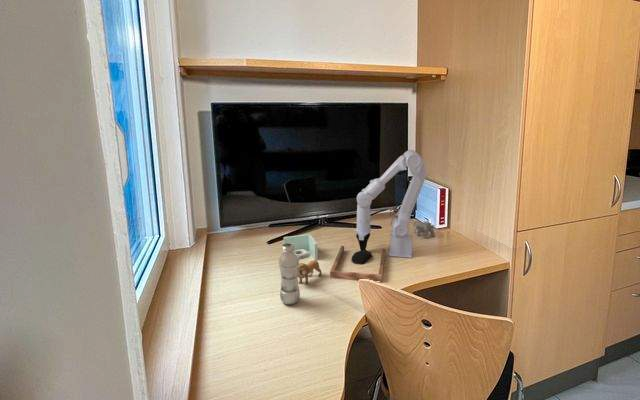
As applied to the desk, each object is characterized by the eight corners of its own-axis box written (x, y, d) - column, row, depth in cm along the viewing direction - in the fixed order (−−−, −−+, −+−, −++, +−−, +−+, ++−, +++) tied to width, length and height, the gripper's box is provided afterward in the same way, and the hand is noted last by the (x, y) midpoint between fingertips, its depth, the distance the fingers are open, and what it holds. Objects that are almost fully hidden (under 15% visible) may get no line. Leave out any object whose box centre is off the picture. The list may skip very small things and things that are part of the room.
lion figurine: (305, 291, 124) (304, 267, 121) (292, 287, 126) (291, 264, 124) (324, 273, 136) (324, 251, 134) (312, 270, 138) (312, 249, 136)
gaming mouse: (378, 253, 154) (378, 245, 153) (362, 266, 142) (362, 257, 141) (364, 250, 157) (365, 242, 156) (348, 263, 145) (348, 254, 144)
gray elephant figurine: (436, 235, 173) (437, 220, 171) (429, 242, 163) (430, 226, 161) (417, 232, 178) (418, 217, 176) (409, 238, 168) (410, 223, 166)
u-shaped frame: (385, 254, 152) (385, 249, 151) (381, 282, 128) (381, 276, 128) (341, 251, 156) (341, 245, 155) (330, 277, 132) (329, 271, 132)
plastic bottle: (289, 294, 121) (287, 239, 116) (304, 300, 117) (302, 244, 112) (276, 302, 117) (272, 246, 111) (291, 309, 112) (288, 251, 107)
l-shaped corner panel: (284, 253, 156) (283, 237, 154) (310, 249, 159) (310, 234, 157) (289, 264, 145) (288, 247, 143) (317, 260, 148) (317, 244, 146)
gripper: (356, 214, 158) (356, 242, 161) (351, 225, 144) (351, 255, 148) (372, 215, 156) (371, 244, 160) (369, 226, 142) (368, 257, 146)
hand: (363, 249), depth 154 cm, fingers closed
